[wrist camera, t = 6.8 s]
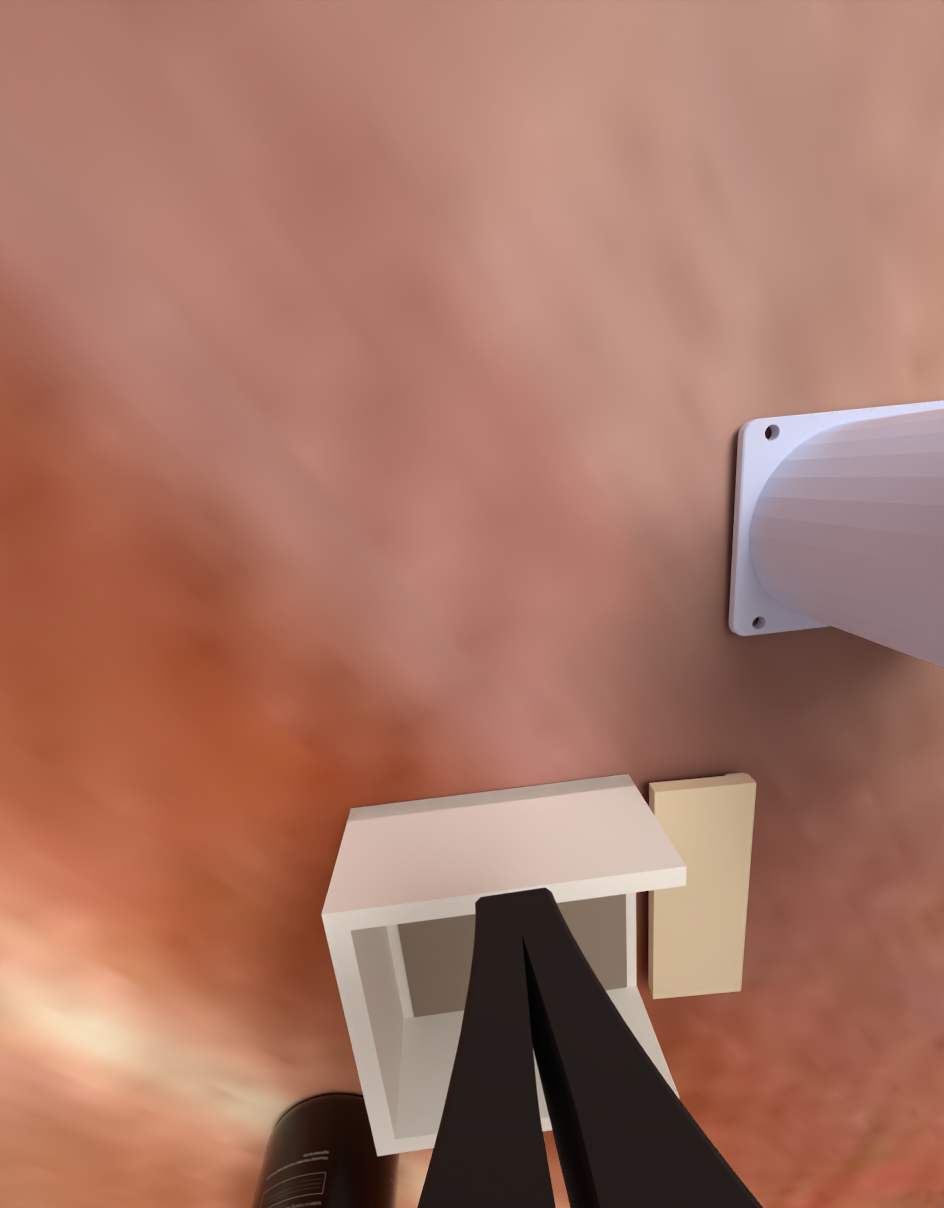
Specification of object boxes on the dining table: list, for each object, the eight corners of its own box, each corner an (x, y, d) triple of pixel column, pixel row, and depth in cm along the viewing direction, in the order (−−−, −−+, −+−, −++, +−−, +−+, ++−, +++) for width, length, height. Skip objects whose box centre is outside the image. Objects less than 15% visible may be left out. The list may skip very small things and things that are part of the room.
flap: (648, 781, 20) (746, 772, 20) (647, 983, 23) (732, 976, 23) (654, 792, 19) (756, 782, 19) (653, 999, 22) (740, 991, 22)
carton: (628, 773, 20) (686, 866, 15) (630, 980, 23) (678, 1110, 18) (350, 808, 20) (321, 914, 15) (391, 1013, 23) (377, 1156, 18)
